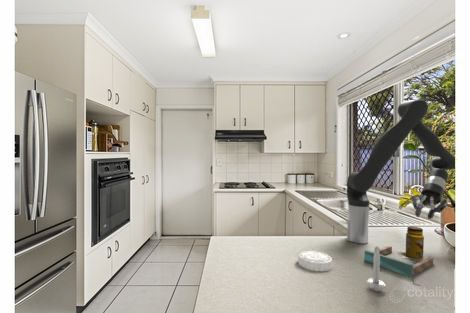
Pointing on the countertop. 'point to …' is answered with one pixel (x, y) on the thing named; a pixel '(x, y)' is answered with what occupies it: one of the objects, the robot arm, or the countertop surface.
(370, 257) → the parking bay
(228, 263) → the countertop surface
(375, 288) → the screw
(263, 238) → the countertop surface
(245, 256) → the countertop surface
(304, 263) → the mooncake
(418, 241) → the condiment
